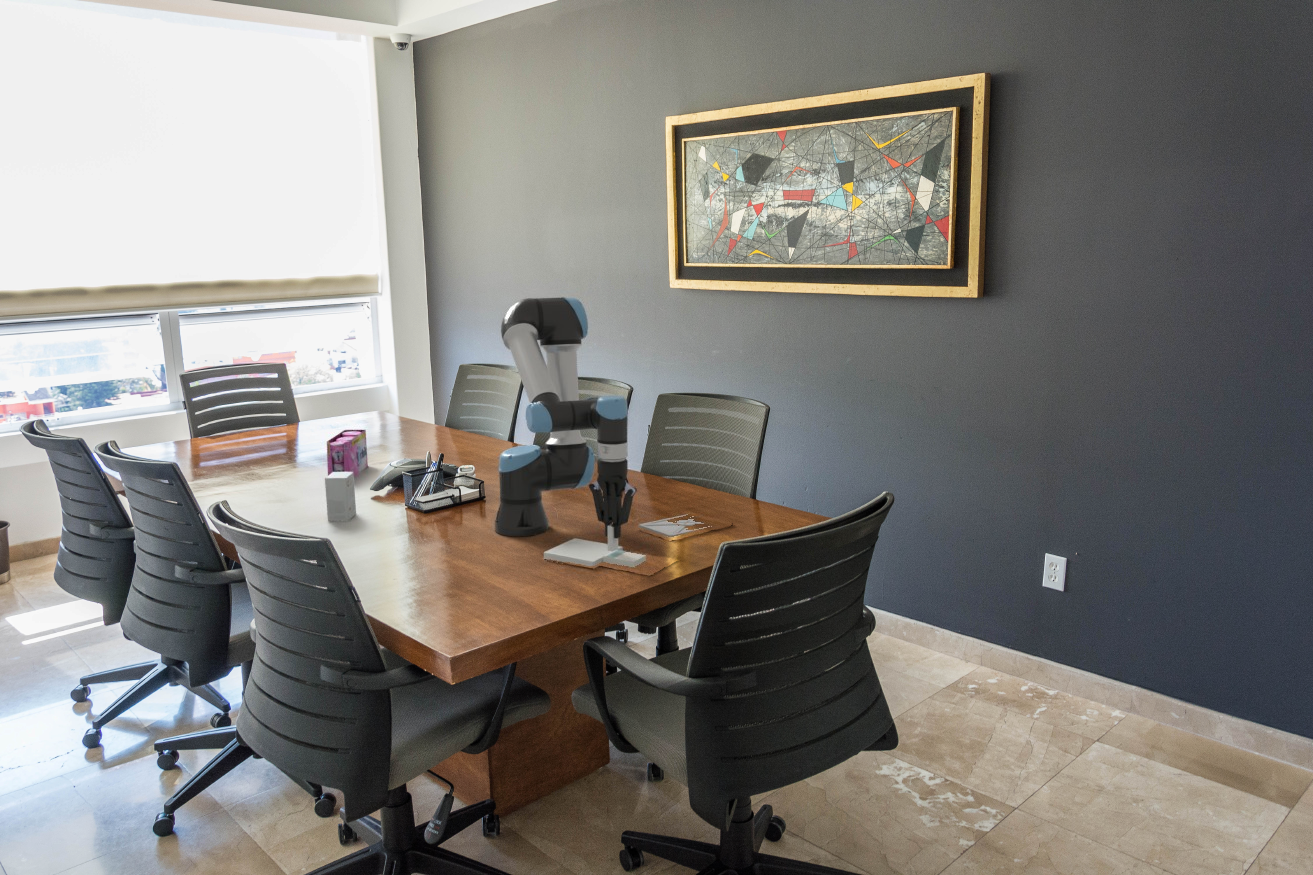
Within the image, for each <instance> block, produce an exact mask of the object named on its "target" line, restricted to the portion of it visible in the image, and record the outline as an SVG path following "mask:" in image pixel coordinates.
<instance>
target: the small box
mask: <svg viewBox="0 0 1313 875" xmlns="http://www.w3.org/2000/svg"><path fill="white" fill-rule="evenodd" d="M324 485H325V486H324V487H325V497H326V498H325V499H326V500H325V501H326V511H327V512H326V515H327V521H328V522H349V521H351V520H352V518H353V517H355V515H356V514H357V507H356V506H357V505H356V504H357V503H356V492H355V491H356V490H355V477H354V472H332V473H331V474H330V475H328V474H327V476H326V477H325V478H324Z"/></svg>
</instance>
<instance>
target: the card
mask: <svg viewBox="0 0 1313 875" xmlns="http://www.w3.org/2000/svg"><path fill="white" fill-rule="evenodd" d="M626 551H627V550H623V551H622V550H615V551H613V552H610V553H608V554H606V555H604V556H603V562H606V563H610V564H617V565H622V566H623V565H624V566H629V567H635V566H637V565H639V564H641V563H642V562H644V561H646V555H642V554H637V553H631V552H626Z"/></svg>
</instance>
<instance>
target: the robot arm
mask: <svg viewBox="0 0 1313 875" xmlns="http://www.w3.org/2000/svg"><path fill="white" fill-rule="evenodd" d="M500 328H501V329H500V334H501V339H502V342H503V344H504V346H505V347H506V348H507V349H508V350H509V351H510V353H511V355H512V358H513V361H514V363H515V367H516V369H517V372H518V374H519V378H520V380H521V383H522V385H523V388H524V390H525V394H526V396H527V399H528V402H529V404H527V406H526V408H525V420H526V427H527V429H528V430H529V431H530V432H531V433H537V434H539V433H540V434H541V433H542V434H549V433H550V437H549V438H548V440H546V442H545V449H541V447H540V445H536V444H529V445H528V444H525V445H518V446H512V447H510V448H508V449H506V450H504V451H502V452H501V453H500V455H499V459H498V460H499V461H498V462H499V464H498V472H499V475H498V476H499V496H500V498H499V506H498V510H497V513H496V516H495V520H494V531H495V532H496V533H498V534H500V535H501V536H508V537H529V536H536V535H540V534H542V533H545V532H547V531H548V530H549V527H550V526H549V518H548V516H547V514H546V510H545V507H544V503H543V497H542V494H543V492H550V491H559V490H560V491H561V490H567V489H569V490H570V489H572V490H575V489H577V488H583V487H587V486H588V488H589V489H590V492H591V493H592V498H593V502H594V507H595V514H596V517H597V521H598V522H600V523H601V522H602V523H603V525H604V535H605V537H606V538H607V544H608V551H612V552H613V551H615V550H617V549H618V546H619V538H621V536H622V530H621V529H622V528H621V527H622V525H625V524H627V523H628V521H629V518H630V514H631V513H630V512H631V508H632V505H633V499H634V497H635V494H636V493H637V491H638V490H637V488H636V487H632V485H630V484H629V479H628V472H629V471H628V470H629V469H628V468H629V467H628V459H627V458H628V457H629V456H628V455H629V454H628V420H629V419H628V417H629V416H628V415H629V409H628V401H627V399H626V397H624V396H621V395H603V396H599V397H595V396H589V397H586V398H585V399H580V398H579V380H578V379H579V376H578V374H579V373H578V356H577V355H578V354H577V351H578V350H579V348H581V347H582V340H583V339H585V338H587V336H588V330H589V322H588V316H587V311H586V308H585V307H584V305H583V303H581V301H580V300H579V299H577V298H575V297H564V296H563V297H562V296H561V297H535V298H533V297H528V298H523V299H521V300H518V301H516V302H514V303H513V304H512V305H511V306H510V307H509V308H508V309H507V310H506V312H505V314H504V316H503V318H502V321H501V326H500ZM538 341H539V342H538ZM541 349H542V350H543V351H544V352H545V354H546V356H545V358H546V361H545V358H544V355H543V353H542V350H541ZM583 430H596V440H597V442H596V443H597V444H596V445H597V448H596V449H597V450H596V451H597V453H596V454H597V455H596V456H597V458H598V459H597V461H595V460H596V458H595V455H594V454H595V453H594V450H593V448H592V447H591V446H590V445H588V444H587V440H586V439H585V438H584V437H583V436H582V435H581V431H583ZM596 462H597V464H595V463H596ZM595 465H597V474H598V476H597V477H596V481H594V482H591V481H592V479H593V477H594V472H595ZM623 493H624V494H625V495H624V497H623ZM622 500H623V501H622Z"/></svg>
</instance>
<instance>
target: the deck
mask: <svg viewBox="0 0 1313 875" xmlns="http://www.w3.org/2000/svg"><path fill="white" fill-rule="evenodd" d="M623 548H624V547H623V546H621V545H618V549H617V550H622V551H624V550H623ZM610 552H612V551H608V543H605V542H604V543H603V542H597V541H592V540H587V539H581V538H576V537H574V538H573V539H570V540H568V541H565V542H562V543H561V544H559V545H557V546H554V547H552V548H550V549H547V550H546V551H544V552H543V560H544V559H551V560H557V561H562V562H570V563H575V564H581V565H586V566H595V565H597V564H599V563H601V562H603V556H604V555H606V554H608V553H610Z"/></svg>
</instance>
